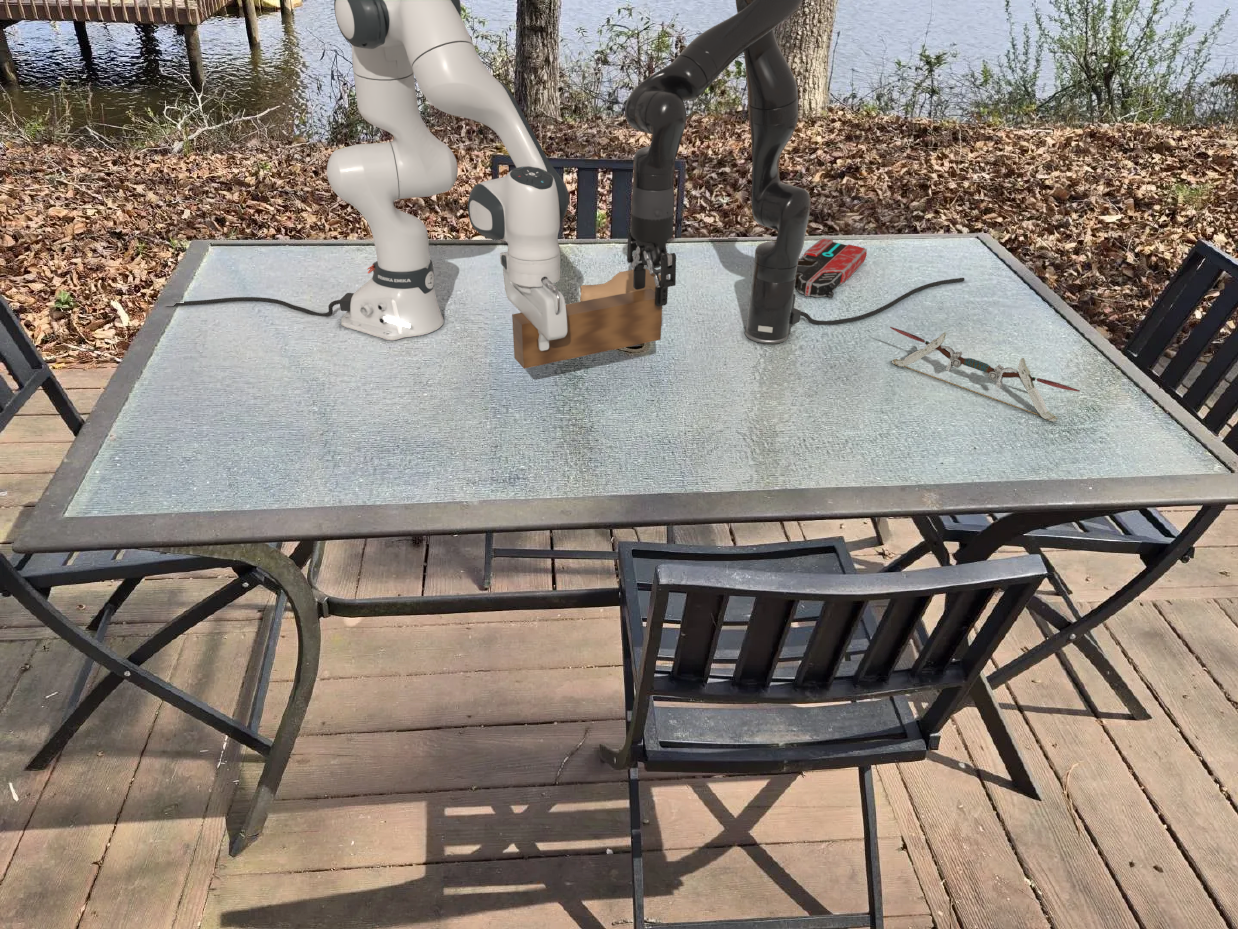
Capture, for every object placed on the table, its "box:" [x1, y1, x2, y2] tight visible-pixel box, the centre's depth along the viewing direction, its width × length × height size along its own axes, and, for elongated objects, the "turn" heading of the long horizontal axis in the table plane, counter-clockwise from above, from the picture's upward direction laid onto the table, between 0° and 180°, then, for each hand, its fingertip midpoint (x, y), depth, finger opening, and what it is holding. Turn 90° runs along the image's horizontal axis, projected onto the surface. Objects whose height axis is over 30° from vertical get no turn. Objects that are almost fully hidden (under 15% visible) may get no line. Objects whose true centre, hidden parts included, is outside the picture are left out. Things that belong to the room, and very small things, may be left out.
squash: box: [579, 267, 661, 302], centre depth 204 cm, size 11×20×9 cm, turn 90°
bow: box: [889, 326, 1081, 422], centre depth 173 cm, size 39×2×10 cm, turn 47°
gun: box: [795, 237, 868, 299], centre depth 225 cm, size 4×31×19 cm
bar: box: [511, 289, 663, 370], centre depth 160 cm, size 28×5×9 cm, turn 117°
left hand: (536, 341), depth 157 cm, fingers closed on bar, 4 cm apart
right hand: (649, 296), depth 163 cm, fingers open, 8 cm apart
